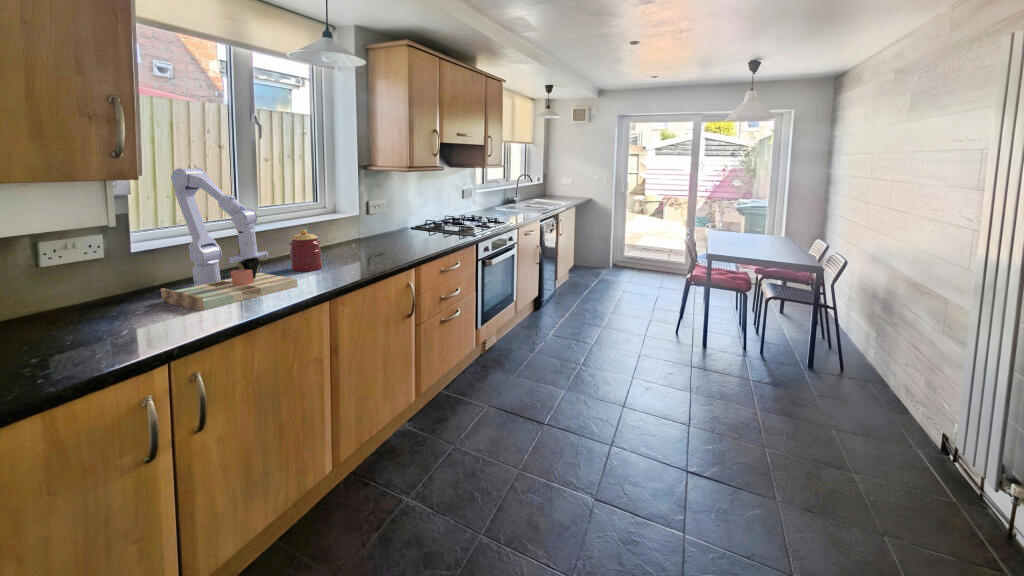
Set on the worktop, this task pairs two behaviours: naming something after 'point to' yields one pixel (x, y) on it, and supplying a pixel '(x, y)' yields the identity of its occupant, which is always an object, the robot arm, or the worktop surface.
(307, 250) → the canister
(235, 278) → the block
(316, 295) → the worktop surface
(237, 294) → the board
